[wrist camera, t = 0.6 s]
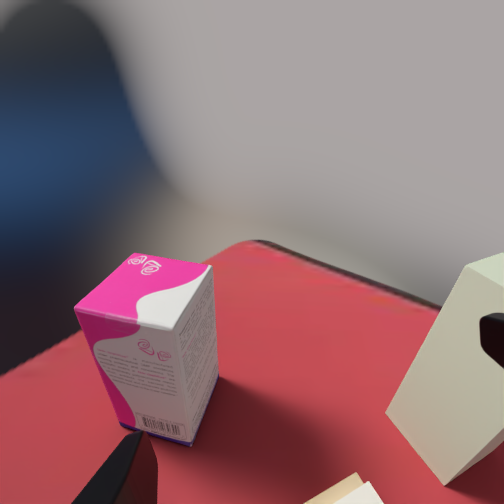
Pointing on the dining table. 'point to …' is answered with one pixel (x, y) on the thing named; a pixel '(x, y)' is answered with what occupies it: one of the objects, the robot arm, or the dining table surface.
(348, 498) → the tower top slab
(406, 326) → the dining table surface
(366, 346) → the dining table surface
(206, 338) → the supplement box
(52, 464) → the dining table surface
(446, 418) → the tall block
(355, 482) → the tower base slab
